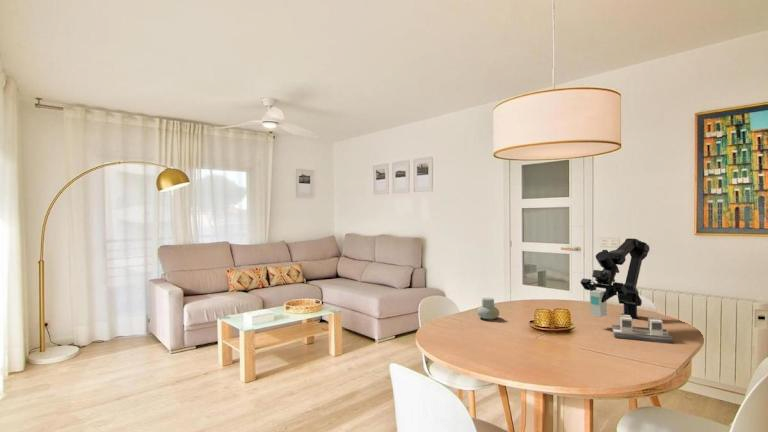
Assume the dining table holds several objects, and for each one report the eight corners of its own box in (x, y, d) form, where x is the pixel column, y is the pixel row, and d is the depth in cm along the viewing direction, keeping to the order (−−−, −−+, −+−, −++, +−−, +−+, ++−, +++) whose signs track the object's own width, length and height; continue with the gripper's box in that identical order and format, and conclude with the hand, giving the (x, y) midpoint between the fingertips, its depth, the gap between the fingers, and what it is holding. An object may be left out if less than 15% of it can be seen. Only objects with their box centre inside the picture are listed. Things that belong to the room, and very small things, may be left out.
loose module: (596, 313, 184) (596, 289, 184) (606, 315, 181) (606, 291, 181) (590, 315, 181) (589, 291, 181) (600, 317, 178) (599, 292, 177)
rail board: (611, 328, 178) (611, 312, 178) (665, 333, 169) (665, 315, 169) (614, 337, 165) (614, 319, 165) (673, 343, 157) (672, 324, 157)
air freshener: (493, 315, 207) (493, 296, 207) (502, 319, 199) (501, 299, 199) (474, 317, 204) (474, 297, 204) (482, 321, 196) (482, 301, 196)
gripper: (581, 261, 191) (569, 287, 185) (623, 265, 175) (611, 293, 169) (591, 276, 195) (579, 301, 189) (632, 280, 180) (620, 308, 174)
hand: (596, 301), depth 180 cm, fingers closed on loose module, 4 cm apart
